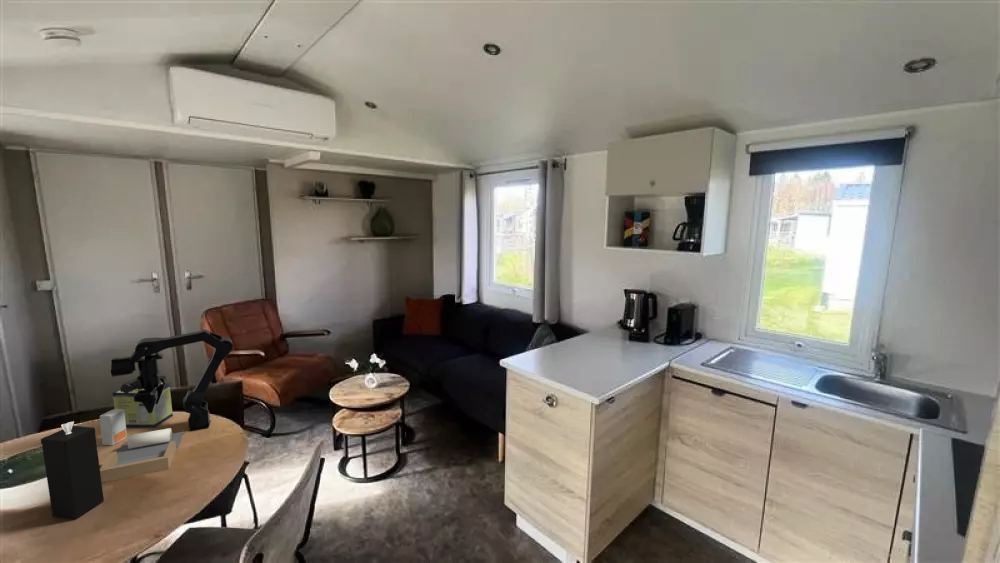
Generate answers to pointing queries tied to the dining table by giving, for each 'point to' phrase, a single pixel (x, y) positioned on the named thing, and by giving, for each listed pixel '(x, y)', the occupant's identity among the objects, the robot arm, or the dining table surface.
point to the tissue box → (72, 471)
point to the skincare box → (113, 426)
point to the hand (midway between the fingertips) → (153, 408)
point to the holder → (139, 459)
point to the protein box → (143, 409)
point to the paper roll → (149, 438)
